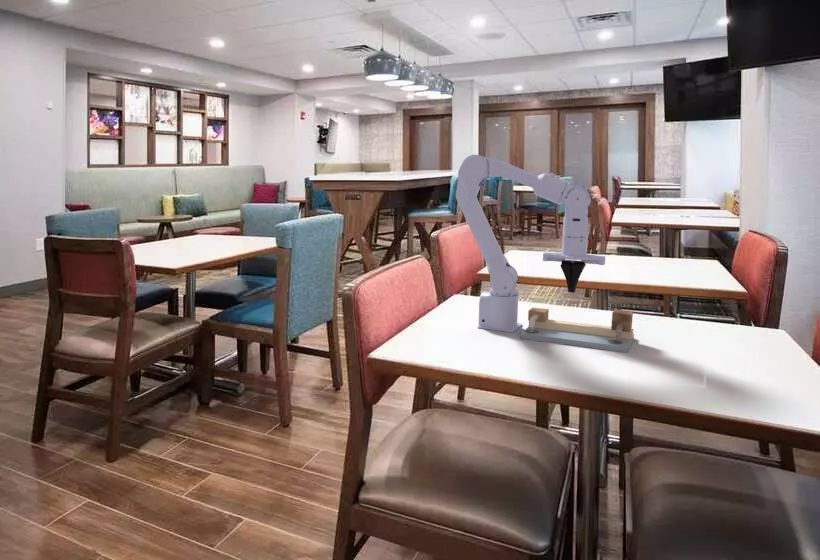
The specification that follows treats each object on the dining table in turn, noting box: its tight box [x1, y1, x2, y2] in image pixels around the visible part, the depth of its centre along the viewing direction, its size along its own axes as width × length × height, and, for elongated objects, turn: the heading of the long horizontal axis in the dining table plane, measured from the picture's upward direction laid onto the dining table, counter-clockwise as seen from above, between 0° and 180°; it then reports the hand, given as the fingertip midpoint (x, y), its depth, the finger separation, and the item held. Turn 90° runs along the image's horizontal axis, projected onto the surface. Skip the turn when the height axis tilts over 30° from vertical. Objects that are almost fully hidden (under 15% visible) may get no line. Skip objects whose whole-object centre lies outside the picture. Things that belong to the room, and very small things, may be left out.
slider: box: [611, 309, 634, 342], centre depth 131 cm, size 4×8×6 cm, turn 153°
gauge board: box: [520, 307, 635, 353], centre depth 135 cm, size 24×12×5 cm, turn 63°
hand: (571, 291), depth 140 cm, fingers closed
